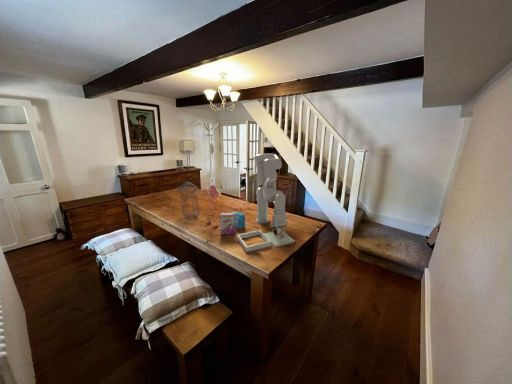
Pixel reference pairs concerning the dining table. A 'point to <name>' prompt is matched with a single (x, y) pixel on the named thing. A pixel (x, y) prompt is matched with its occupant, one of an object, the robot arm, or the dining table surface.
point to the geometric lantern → (189, 197)
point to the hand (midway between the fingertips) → (278, 233)
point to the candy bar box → (227, 223)
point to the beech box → (280, 232)
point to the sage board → (280, 241)
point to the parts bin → (256, 246)
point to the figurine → (213, 193)
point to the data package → (239, 220)
